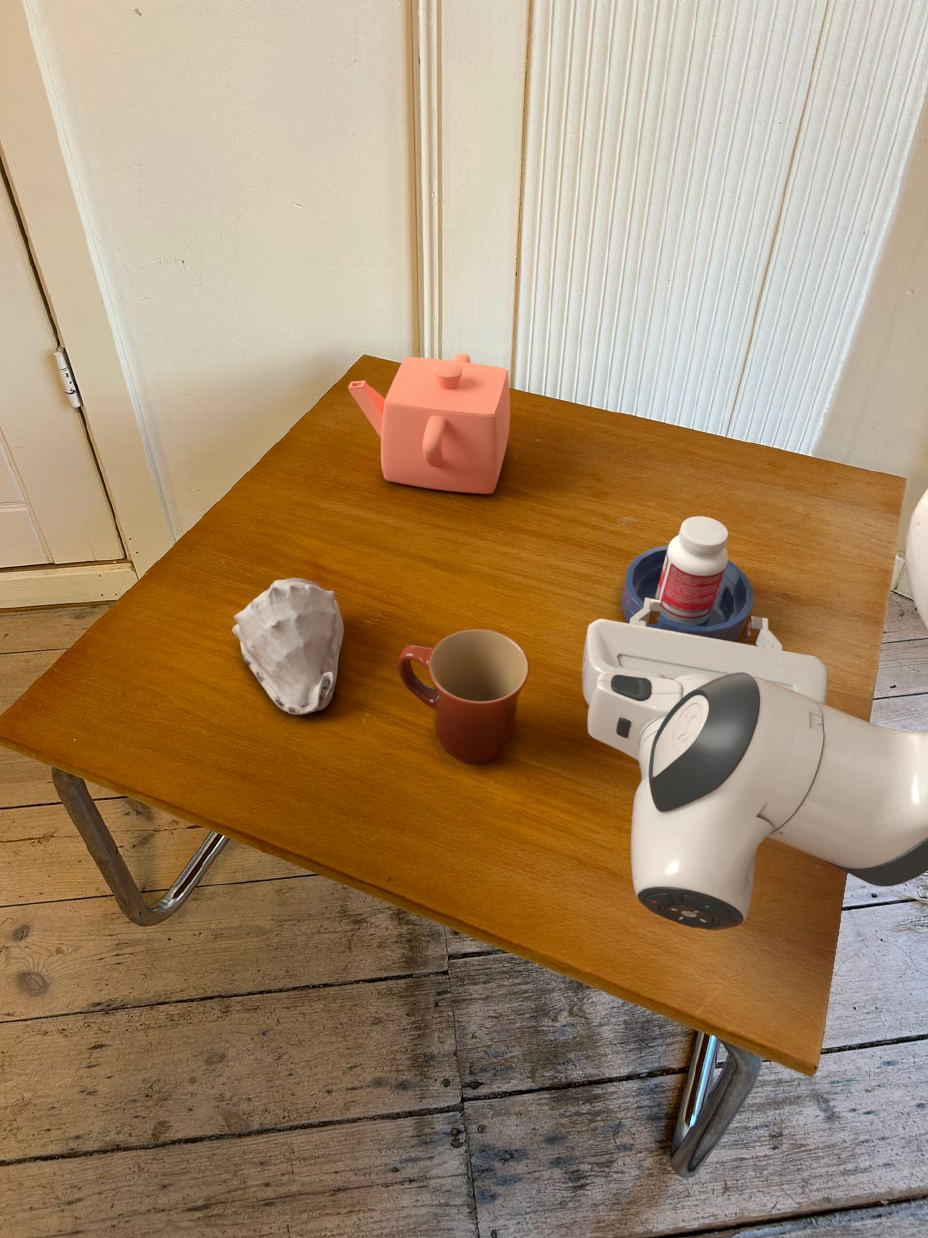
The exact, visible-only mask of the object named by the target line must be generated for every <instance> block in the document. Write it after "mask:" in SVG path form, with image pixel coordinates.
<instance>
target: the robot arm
mask: <svg viewBox="0 0 928 1238" xmlns="http://www.w3.org/2000/svg"><path fill="white" fill-rule="evenodd" d="M905 537H906V538H905V545H904V565H905V575H906V580H907V585H908V588H909V592H910V595H911V598H912V600H913V604H914V606H915V608H916V611H917V613H918V615H919V617H920V619H921V620H922V622H923V624H924V626H925V628H926V630H928V488H927V489H926V490H925V492H924V493H923V495H922V496H921V498H920V499H919V501H918V503H917V504H916V506H915V507H914V509H913V511H912V514H911V517H910V521H909V524H908V528H907V532H906V536H905ZM660 605H661V600H656V599H650V598H645V601H644V605H643V609H641V610H640V611H639V612H638V613H636V614H635V615H634V616H633V617H631V618H630V622H628V623H627V622H622V621H616V620H611V619H605V618H597V619H596V620H593V622H590V623H589V624H588V625H587V629H586V634H585V640H584V647H583V654H582V664H581V685H582V687H581V688H582V693H583V698H584V700H585V702H586V704H587V705H588V711H587V734H588V735H589V736H590V737H592V738H593V739H595V740H596V741H599V742H601V743H603V744H605V745H607V746H609V747H612V748H614V749H616V750H617V751H620V752H622V753H624V754H626V755H627V756H629V757H631V758H633V759H635V760H636V761H638V766H639V770H640V773H641V774H640V775H641V779H640V782H639V784H638V786H637V789H636V791H635V794H634V798H633V803H632V804H633V805H632V815H631V826H630V827H631V828H630V829H631V830H630V865H631V866H630V868H631V879H632V885H633V891H634V894H635V897H636V898H637V900H638V902H639V903H640V904H641V905H642V906H644V907H645V908H646V909H647V910H649V912H651V913H653V914H655V915H658V916H660V917H662V918H664V919H666V920H669V921H671V922H674V923H677V924H679V925H682V926H686V927H688V928H692V929H700V930H706V931H724V930H728V929H732V928H736V927H739V926H740V925H742V924H743V923H744V922H745V921H746V919H747V917H748V914H749V910H750V907H751V902H752V896H753V889H754V881H755V872H756V861H757V860H756V858H757V850H758V848H759V847H760V845H761V843H762V842H763V841H764V840H765V839H766V838H767V839H769V840H772V841H775V842H777V843H779V844H782V845H784V846H787V847H790V848H792V849H795V850H797V851H799V852H802V853H805V854H807V855H810V856H812V857H815V858H817V859H820V860H822V861H824V862H825V863H827V864H829V865H830V866H833V867H835V868H837V869H838V870H841V871H843V872H845V873H847V874H849V875H851V876H854V877H855V878H857V879H859V880H861V881H863V882H865V883H867V884H870V885H873V886H876V887H893V886H898V885H902V884H904V883H906V882H909V881H912V880H914V879H916V878H919V877H920V876H922V875H924V874H926V873H927V872H928V730H924V731H910V730H900V729H894V728H890V727H885V726H881V725H878V724H875V723H872V722H870V721H867V720H864V719H862V718H860V717H857V716H855V715H852V714H850V713H847V712H845V711H842V710H839V709H838V708H834V706H833V707H832V706H830V705H827V704H826V702H827V696H828V687H829V685H828V684H829V670H828V667H827V665H826V664H825V663H824V662H823V661H822V660H821V659H820V658H818V657H817V656H815V655H811V654H804V653H798V652H792V651H787V650H783V644H782V643H781V642H780V641H779V639H778V638H777V637H776V636H775V635H774V633H772V631H771V630H770V629H769V618H767V617H760V616H754V615H750V616H749V621H747V624H746V642H748V643H749V642H750V643H755V644H756V645H753V644H748V643H741V642H736V641H735V642H731V641H725V640H719V639H714V638H708V637H702V636H697V635H691V634H685V633H680V632H674V631H668V630H662V629H657V628H651V627H645V626H646V625H647V624H652V625H657V622H658V617H659V614H660V608H661V606H660Z"/></svg>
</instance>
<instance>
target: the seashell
mask: <svg viewBox="0 0 928 1238" xmlns="http://www.w3.org/2000/svg"><path fill="white" fill-rule="evenodd" d="M233 619H234V621H235V622H236V623H235V625H234V626H233V627H232V628H231V631H232V633H233V634H234V635H235V636H236V637H237V638H238V641H239V644H240V650H241V651H240V652H241V654H242V657H243V660H244V661H245V663H246V664H247V666H248V667H249V669H250V670H251V672H252V673H253V674H254V676H255V678H256V679H257V680H258V682H259V683H260V685H261V687H263V689H264V691H265V692H266V693H267V695H268V696H269V698H270V699H271V700H272V701H273V703H274V704H275V705H276V706H277V707H278V708H279V709H281V710H282V711H284V712H287V713H288V714H290V715H298V716H299V715H306V714H311V713H314V712H317V711H322V710H324V709H325V708H327V706H328V705H329V704H330V702H331V701H332V699H333V695H334V691H335V686H336V683H337V676H338V666H339V658H340V651H341V647H342V643H343V638H344V632H345V629H344V621H343V617H342V614H341V612H340V606H339V603H338V601H337V600H336V591H334V590H326V589H324V588H323V587H322V586H321V585H319V584H318V583H316V582H314V581H313V580H309V579H306V578H300V577H292V578H286V579H276V580H275V581H273V583H272V584H270V586H269V588H268V589H267V590H265V591H263V592H261V593H260V594H259V595H258V596H257V597H255V598H254V599H252V601H251V602H250V603H249V604H247V606H246V607H245V608H244V609H243V610H241V611H239V612H238V613H236V614H235V615H233Z"/></svg>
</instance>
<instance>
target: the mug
mask: <svg viewBox="0 0 928 1238" xmlns="http://www.w3.org/2000/svg"><path fill="white" fill-rule="evenodd" d="M411 661H414V662H417V663H419V664H421V666H423V667H424V668H425V669H426V671H428V674H429V677H430V679H431V682H432V684H433V685H434V687H433V686H430V685H428V684H426V683H425V682H423V681H422V680H420V678H419V677H418V676H417V675H416V673H415V671H414V670H413V666H412V662H411ZM529 661H530V660H529V658H528V655H527V654H526V652H525V650H524V649H523V647H522V646H521V645H520V644H519V643H518V642H516V641H515V640H514V639H513V638H511V637H510V636H507V635H505V634H503V633H501V632H498V631H495V630H491V629H484V628H469V629H463V630H459V631H456V632H454V633H451V634H448V635H447V636H445V637H443V638H442V639H440V641H438V642H437V644H436V645H435V646H434V647H426V646H422V645H417V644H411V645H407V646H405V647H404V648H403V649H402V650H401V652H400V653H399V656H398V658H397V669H398V674H399V678H400V679H401V681H402V683H403V685H404V686H405V687H406V689H407V690H408V691H409V692H410V693H411V694H413V695H414V696H415V697H416V698H418V699H419V700H420V701H421V702H422V703H423V704H425V705H426V706H428V707H430V708H431V709H433V710H434V726H435V731H436V734H437V737H438V740H439V743H440V745H441V746H442V748H443V749H444V750H445V752H447V753H448V754H449V755H450V756H452V757H453V758H454V759H457V760H458V761H461V762H464V763H470V764H480V763H486V762H491V761H493V760H495V759H497V758H498V757H500V756H501V755H502V754H504V753H505V751H506V750H507V749H508V747H509V745H510V743H511V741H512V740H513V738H514V734H515V731H516V728H517V727H516V726H517V713H518V696H519V695H520V693H521V691H522V690H523V688H524V687H525V685H526V683H527V681H528V679H529V675H530V662H529Z"/></svg>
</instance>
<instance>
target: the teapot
mask: <svg viewBox="0 0 928 1238" xmlns="http://www.w3.org/2000/svg"><path fill="white" fill-rule="evenodd" d="M509 379H510V378H509V370H508V369H507V368H504V367H499V366H494V365H489V364H482V363H475V362H471V357H470V355H468V354H467V353H464V352H459V353H456V354H455V355H454V356H453V357H452V359H451V360H448V359H439V358H427V357H411V356H410V357H409V356H408V357H405V358H404V359H403V361H402V362H401V364H400V365H399V368H398V370H397V372H396V374H395V376H394V379H393V380H392V383H391V385H390V387H389V390H388V391H387V394H386V396H385V397H384V396H383V395H382V394H381V393H379V391H376V390H375V389H374V388H373V387H372V386H370V385H369V384H368V383H367V380H357V381H355V380H354V381H351V382H350V383H349V384H348V387H347V390H348V392H349V393H350V395H351V396H352V397H353V399H354V401H355V402H356V404H357V405H358V407H359V408H360V410H361V411H362V412H363V414H364V415H365V417H366V419H367V420H368V422H369V423H370V424H371V426H372V427H373V429H374V430H375V432H376V434H377V435H378V437H379V439H380V465H381V470H382V475H383V478H384V480H385V481H388V482H391V483H396V484H402V485H407V486H412V487H419V488H425V489H429V490H431V489H432V490H438V491H448V492H457V493H467V494H468V493H469V494H480V495H481V494H483V495H489V494H493V493H494V492H495V489H496V487H497V483H498V480H499V476H500V473H501V470H502V467H503V462H504V459H505V454H506V451H507V445H508V440H509V436H510V435H509V434H510V427H511V425H510V424H511V397H510V396H511V395H510V394H511V393H510V380H509Z"/></svg>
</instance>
